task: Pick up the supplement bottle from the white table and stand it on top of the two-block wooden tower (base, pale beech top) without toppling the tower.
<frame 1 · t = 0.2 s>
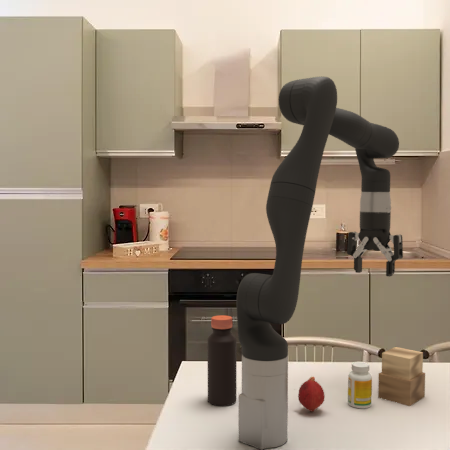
hand: (373, 274, 148), 28 cm above the table, tool pointing down, fingers open, 8 cm apart
tower base: (401, 397, 140), on the table, touching tower top
vinegar: (222, 402, 138), on the table
tower top: (402, 373, 140), point 6 cm above the table, touching tower base
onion: (311, 412, 132), on the table
supplement bottle: (359, 405, 136), on the table
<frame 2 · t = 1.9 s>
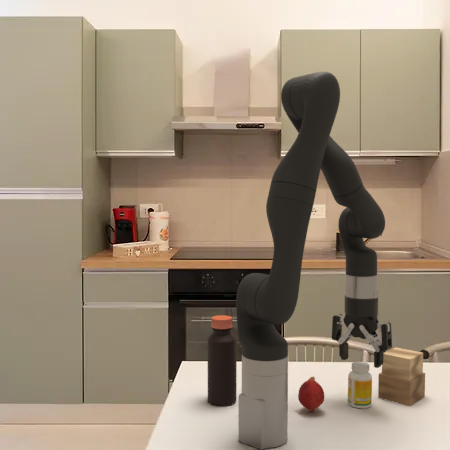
hand: (360, 363, 135), 10 cm above the table, tool pointing down, fingers open, 8 cm apart
nothing on the table moved.
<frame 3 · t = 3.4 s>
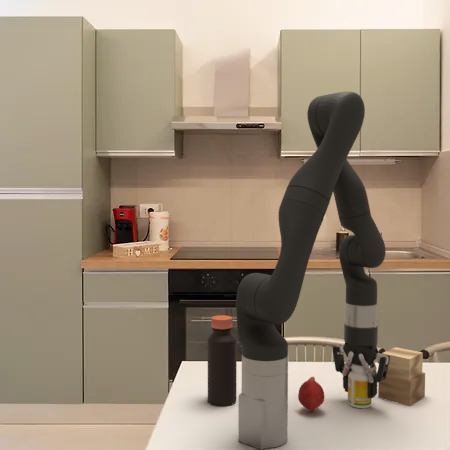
hand: (359, 394, 136), 2 cm above the table, tool pointing down, fingers closed on supplement bottle, 5 cm apart
supplement bottle: (359, 405, 136), on the table, touching gripper
everything else where it was.
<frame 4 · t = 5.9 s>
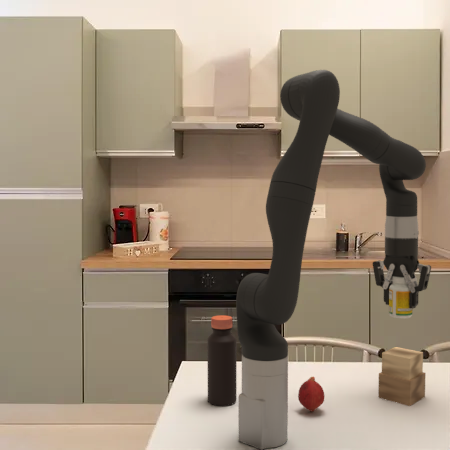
hand: (400, 305, 139), 22 cm above the table, tool pointing down, fingers closed on supplement bottle, 5 cm apart
supplement bottle: (400, 316, 139), point 19 cm above the table, touching gripper
everything else where it was.
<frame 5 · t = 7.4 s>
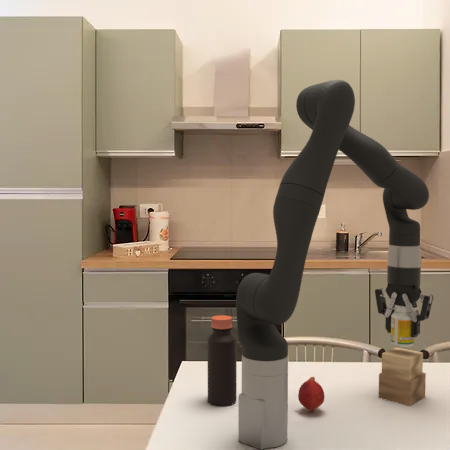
hand: (402, 334, 139), 15 cm above the table, tool pointing down, fingers closed on supplement bottle, 5 cm apart
supplement bottle: (402, 345, 140), point 13 cm above the table, touching gripper
everything else where it was.
when the fingers open (15 cm above the table, at t = 8.7 s): supplement bottle drops 1 cm, resting on tower top.
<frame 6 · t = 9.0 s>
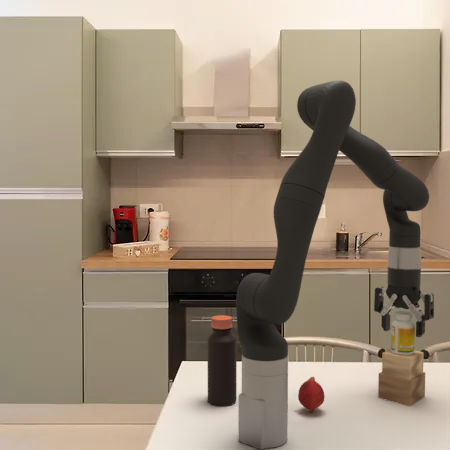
hand: (402, 333, 139), 15 cm above the table, tool pointing down, fingers open, 8 cm apart
tower top: (402, 373, 140), point 6 cm above the table, touching supplement bottle, tower base
supplement bottle: (402, 353, 140), point 11 cm above the table, touching tower top
everything else where it was.
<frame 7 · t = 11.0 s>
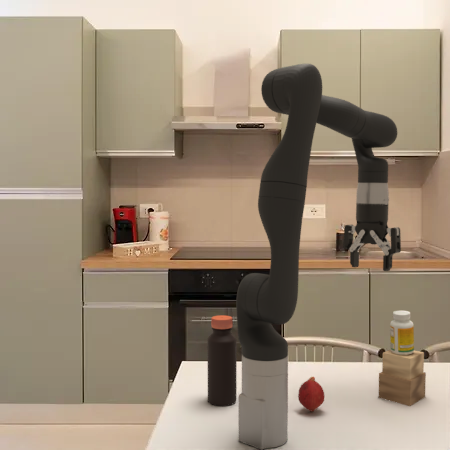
hand: (370, 268, 142), 31 cm above the table, tool pointing down, fingers open, 8 cm apart
nothing on the table moved.
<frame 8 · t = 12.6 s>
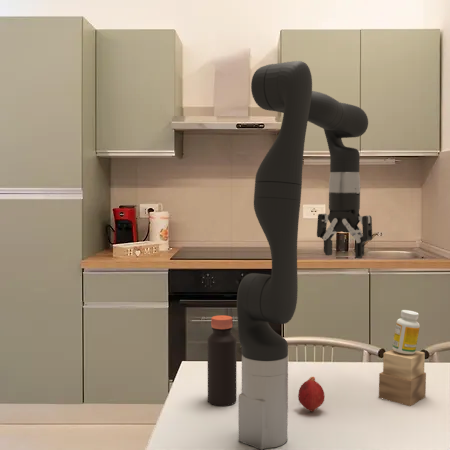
hand: (343, 256, 145), 33 cm above the table, tool pointing down, fingers open, 8 cm apart
at the end: supplement bottle inside the target area on the tower base (0.0 cm from its centre), point 11.0 cm above the tower base's base; supplement bottle tilted 5°; tower top moved 0.4 cm from its start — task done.
